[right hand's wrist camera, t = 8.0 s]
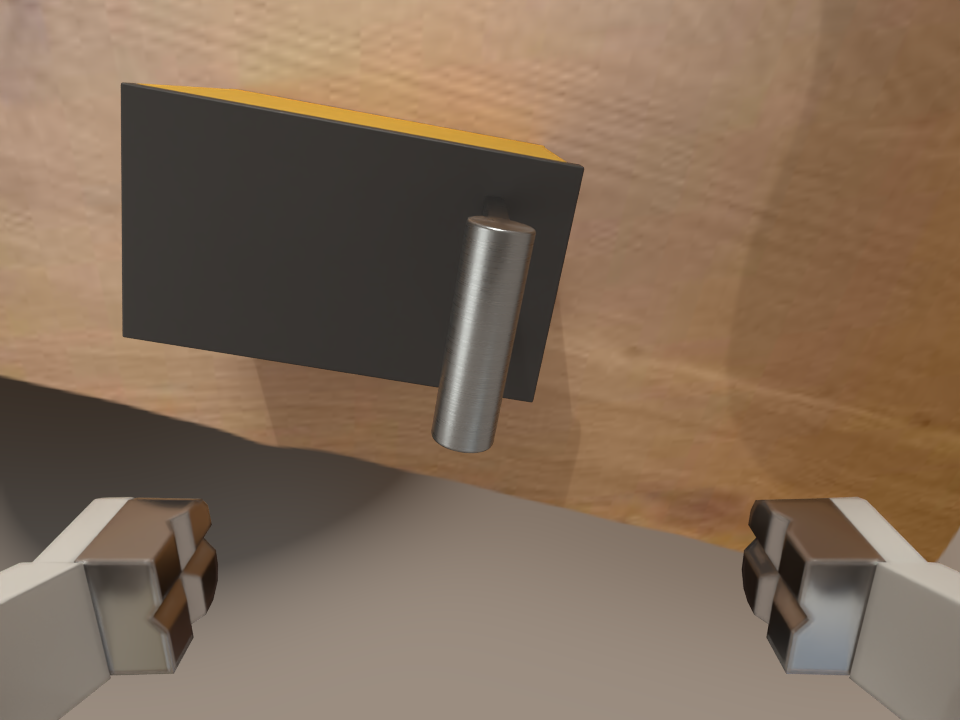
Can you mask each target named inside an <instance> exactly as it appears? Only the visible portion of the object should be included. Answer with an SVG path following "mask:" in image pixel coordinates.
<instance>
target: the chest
mask: <svg viewBox="0 0 960 720" xmlns="http://www.w3.org/2000/svg"><path fill="white" fill-rule="evenodd" d="M137 84H138V83H137ZM141 85H147V86H152V87H158V88H163V89H168V90H174V91H179V92H185V93H190V94H196V95H201V96H207V97H212V98H218V99H223V100H229V101H234V102H240V103H245V104H250V105H256V106H261V107H267V108H272V109H278V110H283V111H289V112H294V113H300V114H305V115H311V116H316V117H322V118H327V119H332V120H338V121H343V122H349V123H354V124H360V125H365V126H371V127H376V128H382V129H387V130H393V131H398V132H404V133H409V134H414V135H420V136H425V137H431V138H436V139H442V140H447V141H453V142H458V143H464V144H469V145H475V146H480V147H486V148H491V149H497V150H502V151H507V152H513V153H518V154H524V155H529V156H535V157H540V158H546V159H551V160H557V161H562V162H566V161H564V160H563V159H561V158H560V157H558V156H557V155H555V154H553V153H552V152H550V151H549V150H547V149H546V148H545V147H544V146H542V145H537V144H531V143H526V142H520V141H515V140H510V139H504V138H499V137H493V136H488V135H482V134H477V133H472V132H466V131H461V130H455V129H450V128H444V127H439V126H433V125H428V124H423V123H417V122H412V121H406V120H401V119H395V118H390V117H385V116H379V115H374V114H368V113H363V112H357V111H352V110H347V109H341V108H336V107H330V106H325V105H319V104H314V103H308V102H303V101H298V100H292V99H287V98H281V97H276V96H270V95H265V94H260V93H254V92H249V91H243V90H238V89H218V88H202V87H186V86H170V85H154V84H141Z"/></svg>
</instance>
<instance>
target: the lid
mask: <svg viewBox="0 0 960 720" xmlns="http://www.w3.org/2000/svg"><path fill="white" fill-rule="evenodd" d="M583 172H584V167H583V166H581V165H579V164H573V163H568V162H562V161H557V160H551V159H546V158H540V157H535V156H529V155H524V154H518V153H513V152H507V151H502V150H497V149H491V148H486V147H480V146H475V145H469V144H464V143H458V142H453V141H447V140H442V139H436V138H431V137H425V136H420V135H414V134H409V133H404V132H398V131H393V130H387V129H382V128H376V127H371V126H365V125H360V124H354V123H349V122H343V121H338V120H332V119H327V118H322V117H316V116H311V115H305V114H300V113H294V112H289V111H283V110H278V109H272V108H267V107H261V106H256V105H250V104H245V103H240V102H234V101H229V100H223V99H218V98H212V97H207V96H201V95H196V94H190V93H185V92H179V91H174V90H168V89H163V88H158V87H152V86H147V85H141V84H136V83H121V174H122V313H123V337H127V338H133V339H139V340H145V341H152V342H158V343H164V344H170V345H177V346H183V347H189V348H195V349H202V350H208V351H214V352H220V353H227V354H233V355H239V356H245V357H252V358H258V359H264V360H270V361H277V362H283V363H289V364H295V365H302V366H308V367H314V368H320V369H326V370H333V371H339V372H345V373H351V374H358V375H364V376H370V377H376V378H383V379H389V380H395V381H401V382H408V383H414V384H420V385H426V386H433V387H439V389H438V395H437V401H436V407H435V413H434V419H433V425H432V431H431V433H432V437H433V439H434V440H435V441H436V442H437V443H438V444H440V445H441V446H443V447H445V448H448V449H450V450H454V451H458V452H464V453H478V452H483V451H486V450H487V449H489V448H490V447H491V446H492V444H493V442H494V437H495V432H496V427H497V422H498V417H499V412H500V407H501V402H502V398H508V399H514V400H520V401H526V402H533V399H534V394H535V390H536V385H537V381H538V376H539V372H540V367H541V363H542V358H543V354H544V349H545V344H546V340H547V335H548V331H549V326H550V322H551V317H552V313H553V308H554V304H555V299H556V295H557V290H558V285H559V281H560V276H561V272H562V267H563V263H564V258H565V254H566V249H567V245H568V240H569V236H570V231H571V226H572V222H573V217H574V213H575V208H576V204H577V199H578V195H579V190H580V186H581V181H582V177H583Z"/></svg>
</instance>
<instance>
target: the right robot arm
mask: <svg viewBox="0 0 960 720" xmlns="http://www.w3.org/2000/svg"><path fill="white" fill-rule="evenodd" d="M211 525H212V524H211V519H210V514H209V509H208V505H207V504H206V503H205V502H204V501H203V500H202V499H177V498H132V497H115V498H100V499H95V500H94V501H93V502H92V503H91V504H90V505H89V506H88V507H87V508H86V509H85V510H84V511H83V512H82V513H81V514H80V515H79V516H78V517H77V518H76V519H75V520H74V521H73V522H72V523H71V524H70V525H69V526H68V527H67V528H66V529H65V530H64V531H63V532H62V533H61V534H60V535H59V536H58V537H57V538H56V539H55V540H54V541H53V542H52V543H51V544H50V545H49V546H48V547H47V548H46V549H45V550H44V551H43V552H42V553H41V554H40V555H39V556H38V557H37V558H36V559H35V560H34V561H33V562H31V563H19V564H17V565H15V566H12V567H10V568H8V569H6V570H4V571H1V572H0V720H59V719H60V718H61V717H63V716H64V715H65V714H66V713H68V712H69V711H70V710H72V709H73V708H74V707H75V706H77V705H78V704H79V703H80V702H82V701H83V700H84V699H85V698H87V697H88V696H89V695H90V694H92V693H93V692H94V691H95V690H97V689H98V688H99V687H101V686H102V685H103V684H104V683H106V682H107V681H108V680H109V679H110V675H139V674H173V673H174V672H175V670H176V669H177V667H178V665H179V663H180V661H181V659H182V658H183V656H184V654H185V652H186V650H187V648H188V647H189V645H190V643H191V641H192V639H193V632H192V626H191V624H192V623H194V622H195V621H197V620H198V619H200V618H201V617H203V616H204V615H206V613H207V611H208V609H209V607H210V605H211V603H212V601H213V598H214V594H215V590H216V585H217V581H218V562H217V555H216V550H215V549H214V548H213V547H212V546H211V545H210V544H209V543H208V542H207V541H206V540H205V539H204V536H205V534H206V533H207V531H208V530H209V528H210V527H211ZM748 525H749V527H750V528H751V530H752V531H753V533H754V535H755V536H756V539H755V540H754V541H753V542H752V543H751V544H750V545H749V546H748V547H747V548H746V549H745V550H744V556H743V564H742V577H743V587H744V591H745V595H746V598H747V601H748V603H749V605H750V607H751V609H752V611H753V613H754V615H756V616H757V617H759V618H760V619H762V620H763V621H765V622H766V623H768V624H769V626H768V632H767V639H768V641H769V643H770V645H771V647H772V648H773V650H774V652H775V654H776V656H777V658H778V659H779V661H780V663H781V665H782V667H783V669H784V670H785V672H786V673H787V674H821V675H850V677H849V678H850V679H851V680H852V681H854V682H855V683H856V684H857V685H859V686H860V687H861V688H862V689H864V690H865V691H866V692H867V693H869V694H870V695H871V696H872V697H874V698H875V699H876V700H877V701H879V702H880V703H881V704H882V705H884V706H885V707H886V708H887V709H889V710H890V711H891V712H893V713H894V714H895V715H896V716H898V717H899V718H900V719H901V720H960V572H959V571H956V570H954V569H952V568H950V567H948V566H945V565H943V564H941V563H929V562H927V561H926V560H925V559H924V558H923V557H922V556H921V555H920V554H919V553H918V552H917V551H916V550H915V549H914V548H913V547H912V546H911V545H910V544H909V543H908V542H907V541H906V540H905V539H904V538H903V537H902V536H901V535H900V534H899V533H898V532H897V531H896V530H895V529H894V528H893V527H892V526H891V525H890V524H889V523H888V522H887V521H886V520H885V519H884V518H883V517H882V516H881V515H880V514H879V513H878V512H877V511H876V509H875V508H874V507H873V506H872V505H871V504H870V503H869V502H868V501H867V500H864V499H862V498H859V497H843V498H817V499H778V500H755V502H754V504H753V506H752V509H751V512H750V518H749V524H748Z"/></svg>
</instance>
